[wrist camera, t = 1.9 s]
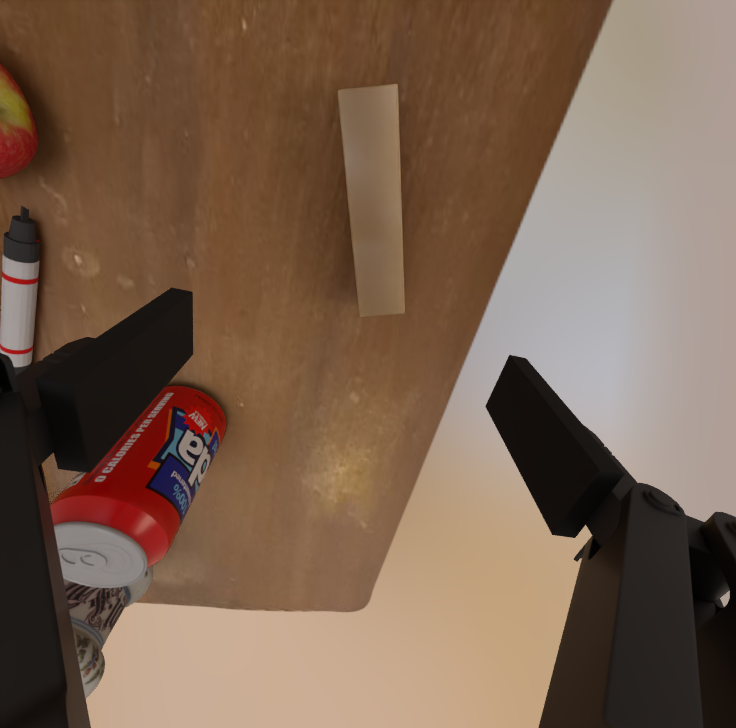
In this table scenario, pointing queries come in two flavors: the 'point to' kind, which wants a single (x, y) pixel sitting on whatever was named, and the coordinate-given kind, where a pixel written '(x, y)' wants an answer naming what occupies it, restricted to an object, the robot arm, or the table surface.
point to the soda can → (138, 491)
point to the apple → (15, 127)
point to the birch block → (374, 195)
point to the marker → (19, 290)
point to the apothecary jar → (98, 621)
